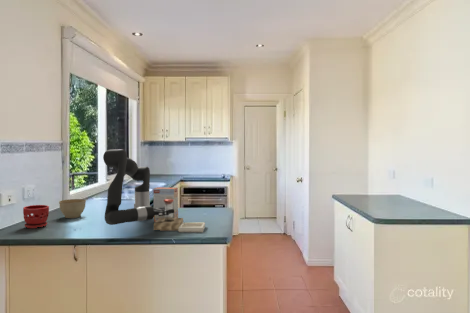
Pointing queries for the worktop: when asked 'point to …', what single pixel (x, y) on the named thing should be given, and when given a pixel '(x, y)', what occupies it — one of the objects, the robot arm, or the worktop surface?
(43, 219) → the plant pot
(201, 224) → the tray
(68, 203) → the planter bowl
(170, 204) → the pin
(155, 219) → the cracker box
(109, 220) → the robot arm
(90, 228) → the worktop surface
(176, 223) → the socket block
